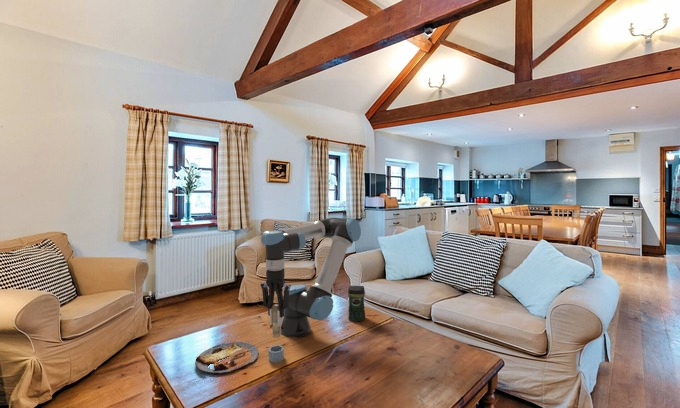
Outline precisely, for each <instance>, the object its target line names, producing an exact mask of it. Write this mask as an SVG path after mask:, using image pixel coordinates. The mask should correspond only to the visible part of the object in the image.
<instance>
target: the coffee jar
mask: <svg viewBox="0 0 680 408" xmlns="http://www.w3.org/2000/svg"><path fill="white" fill-rule="evenodd" d="M365 295H366V290H365V287H364V285H349V286H348V289H347V296H348V310H347V311H348V312H347V319H348V320H349V321H352V322H363V321H364V320H365V319H366V311H365V310H366V309H365Z"/></svg>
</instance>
